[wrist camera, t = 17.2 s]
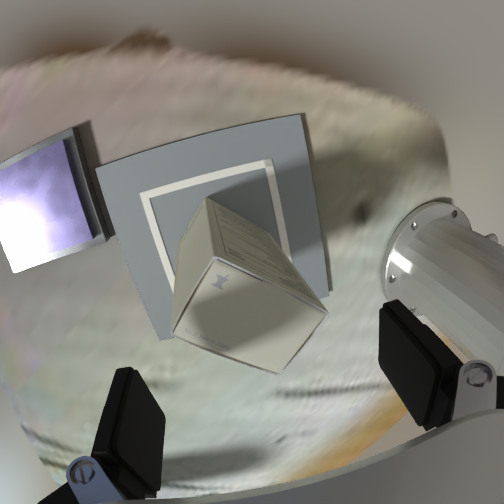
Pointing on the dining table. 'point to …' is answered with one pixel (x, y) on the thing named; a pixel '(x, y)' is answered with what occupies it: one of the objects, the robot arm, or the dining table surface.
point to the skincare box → (240, 293)
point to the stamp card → (221, 191)
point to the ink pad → (48, 203)
